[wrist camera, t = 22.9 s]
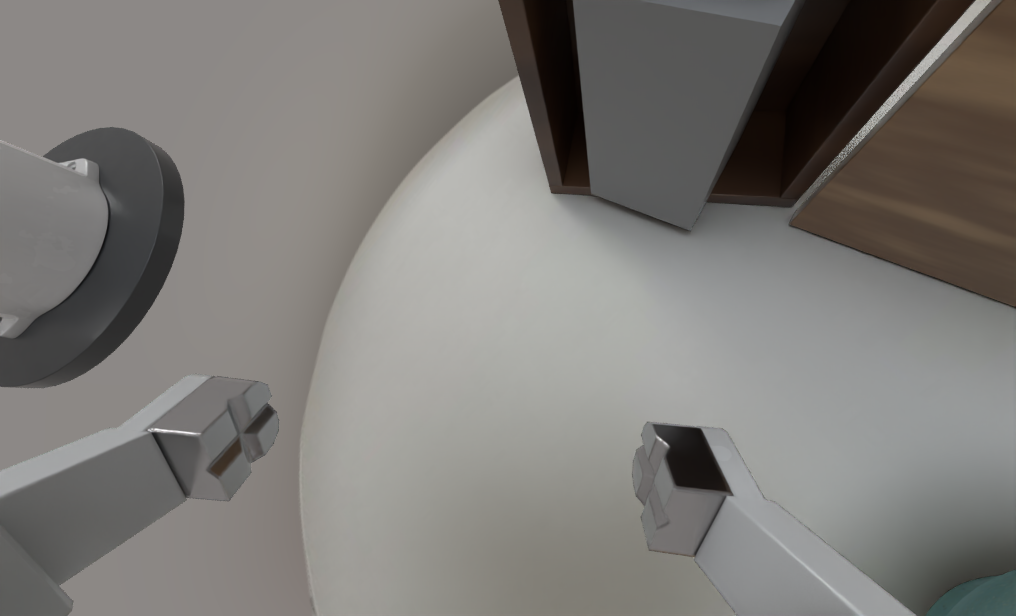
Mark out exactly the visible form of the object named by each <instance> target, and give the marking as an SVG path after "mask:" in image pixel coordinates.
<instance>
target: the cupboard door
mask: <svg viewBox="0 0 1016 616" xmlns="http://www.w3.org/2000/svg"><path fill="white" fill-rule="evenodd" d="M789 224H790V225H792V226H795V227H798V228H800V229H803V230H806V231H809V232H811V233H814V234H817V235H820V236H822V237H825V238H828V239H831V240H833V241H836V242H839V243H842V244H844V245H847V246H850V247H852V248H855V249H858V250H861V251H863V252H866V253H869V254H872V255H874V256H877V257H880V258H883V259H885V260H888V261H891V262H894V263H896V264H899V265H902V266H905V267H907V268H910V269H913V270H916V271H918V272H921V273H924V274H927V275H929V276H932V277H935V278H937V279H940V280H943V281H946V282H948V283H951V284H954V285H957V286H959V287H962V288H965V289H968V290H970V291H973V292H976V293H979V294H981V295H984V296H987V297H990V298H992V299H995V300H998V301H1001V302H1003V303H1006V304H1009V305H1011V306H1014V307H1016V0H992V1H991V2H990V3H989V4H988V5H987V6H986V7H985V8H984V9H983V10H982V11H981V13H980V14H979V15H978V16H977V17H976V18H975V19H974V20H973V21H972V22H971V23H970V24H969V25H968V26H967V28H966V29H965V30H964V31H963V32H962V33H961V34H960V35H959V36H958V37H957V38H956V39H955V40H954V42H953V43H952V44H951V45H950V46H949V47H948V48H947V49H946V50H945V51H944V52H943V53H942V54H941V56H940V57H939V58H938V59H937V60H936V61H935V62H934V63H933V64H932V65H931V66H930V67H929V68H928V70H927V71H926V72H925V73H924V74H923V75H922V76H921V77H920V78H919V79H918V80H917V81H916V82H915V84H914V85H913V86H912V87H911V88H910V89H909V90H908V91H907V92H906V93H905V94H904V95H903V96H902V97H901V99H900V100H899V101H898V102H897V103H896V104H895V105H894V106H893V107H892V108H891V109H890V110H889V111H888V113H887V114H886V115H885V116H884V117H883V118H882V119H881V120H880V121H879V122H878V123H877V124H876V125H875V127H874V128H873V129H872V130H871V131H870V132H869V133H868V134H867V135H866V136H865V137H864V138H863V139H862V141H861V142H860V143H859V144H858V145H857V146H856V147H855V148H854V149H853V150H852V151H851V152H850V153H849V154H848V156H847V157H846V158H845V159H844V160H843V161H842V162H841V163H840V164H839V165H838V166H837V167H836V168H835V170H834V171H833V172H832V173H831V174H830V175H829V176H828V177H827V178H826V179H825V180H824V181H823V182H822V184H821V185H820V186H819V187H818V188H817V189H816V190H815V191H814V192H813V193H812V194H811V195H810V196H809V198H808V199H807V200H806V201H805V202H804V203H803V204H802V205H801V206H800V207H799V208H798V209H797V210H796V212H795V214H794V215H793V217H792V219H791V221H790V223H789Z"/></svg>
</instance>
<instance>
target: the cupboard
mask: <svg viewBox="0 0 1016 616" xmlns="http://www.w3.org/2000/svg"><path fill="white" fill-rule="evenodd" d="M498 1H499V4H500V8H501V11H502V15H503V19H504V22H505V26H506V30H507V33H508V37H509V40H510V44H511V48H512V51H513V55H514V59H515V62H516V66H517V70H518V73H519V77H520V81H521V84H522V88H523V91H524V95H525V99H526V102H527V106H528V110H529V113H530V117H531V121H532V124H533V128H534V131H535V135H536V139H537V142H538V146H539V150H540V153H541V157H542V161H543V164H544V168H545V172H546V175H547V179H548V182H549V187H550V190H551V193H559V194H576V195H593V194H591V187H590V176H589V166H588V155H587V144H586V134H585V123H584V113H583V102H582V92H581V81H580V70H579V60H578V49H577V39H576V28H575V17H574V7H573V0H498ZM974 1H975V0H805V2H804V4H803V7H802V9H801V11H800V13H799V15H798V17H797V19H796V21H795V23H794V26H793V28H792V30H791V32H790V34H789V36H788V38H787V40H786V42H785V45H784V47H783V49H782V51H781V53H780V55H779V57H778V59H777V61H776V64H775V66H774V68H773V70H772V72H771V74H770V76H769V78H768V80H767V83H766V85H765V87H764V89H763V91H762V93H761V95H760V97H759V99H758V101H757V104H756V106H755V108H754V110H753V112H752V114H751V116H750V118H749V120H748V123H747V125H746V127H745V129H744V131H743V133H742V135H741V137H740V139H739V141H738V143H737V145H736V147H735V149H734V151H733V153H732V155H731V156H730V158H729V160H728V162H727V164H726V166H725V168H724V169H723V171H722V173H721V175H720V177H719V179H718V181H717V183H716V184H715V186H714V188H713V190H712V192H711V194H710V196H709V197H708V199H707V201H706V202H712V203H729V204H746V205H763V206H780V207H792V206H793V205H794V204H795V203H796V202H797V201H798V199H799V198H800V197H801V196H802V195H803V194H804V192H805V191H806V190H807V189H808V188H809V187H810V186H811V185H812V183H813V182H814V181H815V180H816V179H817V178H818V177H819V176H820V175H821V173H822V172H823V171H824V170H825V169H826V168H827V167H828V166H829V164H830V163H831V162H832V161H833V160H834V159H835V158H836V157H837V155H838V154H839V153H840V152H841V151H842V150H843V149H844V148H845V146H846V145H847V144H848V143H849V142H850V141H851V140H852V139H853V137H854V136H855V135H856V134H857V133H858V132H859V131H860V130H861V128H862V127H863V126H864V125H865V124H866V123H867V122H868V121H869V119H870V118H871V117H872V116H873V115H874V114H875V113H876V112H877V110H878V109H879V108H880V107H881V106H882V105H883V104H884V103H885V101H886V100H887V99H888V98H889V97H890V96H891V95H892V94H893V92H894V91H895V90H896V89H897V88H898V87H899V86H900V85H901V83H902V82H903V81H904V80H905V79H906V78H907V77H908V76H909V74H910V73H911V72H912V71H913V70H914V69H915V68H916V67H917V66H918V64H919V63H920V62H921V61H922V60H923V59H924V58H925V57H926V55H927V54H928V53H929V52H930V51H931V50H932V49H933V48H934V46H935V45H936V44H937V43H938V42H939V41H940V40H941V39H942V37H943V36H944V35H945V34H946V33H947V32H948V31H949V30H950V28H951V27H952V26H953V25H954V24H955V23H956V22H957V21H958V19H959V18H960V17H961V16H962V15H963V14H964V13H965V12H966V10H967V9H968V8H969V7H970V6H971V5H972V4H973V3H974ZM593 196H596V195H593Z"/></svg>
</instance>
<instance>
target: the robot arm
mask: <svg viewBox="0 0 1016 616" xmlns="http://www.w3.org/2000/svg"><path fill="white" fill-rule="evenodd" d="M107 224H108V204H107V200H106V197H105V195H104V193H103V191H102V189H101V187H100V184H99V166H98V164H97V163H95V162H92V161H90V160H87V159H84V158H82V159H76V160H72V161H67V162H62V163H56V162H54V161H51V160H49V159H47V158H44V157H42V156H39V155H37V154H34V153H32V152H30V151H27V150H25V149H22V148H20V147H17V146H15V145H12V144H10V143H8V142H5V141H3V140H0V337H5V338H11V339H14V338H16V337H18V336H19V335H20V334H22V333H23V332H24V331H25V330H26V329H27V328H28V327H29V325H30V324H31V323H32V322H33V321H34V320H35V319H36V318H38V317H39V316H41V315H42V314H44V313H46V312H47V311H49V310H51V309H53V308H54V307H56V306H57V305H59V304H60V303H61V302H62V301H64V300H65V299H66V298H67V297H68V296H69V295H70V294H71V293H72V292H73V291H74V290H75V289H76V288H77V287H78V286H79V284H80V283H81V282H82V280H83V279H84V278H85V276H86V275H87V274H88V272H89V270H90V269H91V267H92V265H93V264H94V262H95V260H96V258H97V256H98V254H99V252H100V249H101V247H102V244H103V241H104V238H105V234H106V230H107ZM271 397H272V395H271V392H270V390H269V387H268V384H265V383H263V382H259V381H251V380H244V379H236V378H228V377H221V376H217V377H215V376H208V375H201V374H192V375H189V376H186V377H184V378H182V379H181V380H180V381H179V382H177V383H176V384H175V385H173V386H172V387H171V388H169V389H168V390H167V391H165V392H164V393H163V394H162V395H160V396H159V397H158V398H156V399H155V400H154V401H152V402H151V403H150V404H148V405H147V406H146V407H144V408H143V409H142V410H141V411H139V412H138V413H137V414H135V415H134V416H133V417H131V418H130V419H129V420H127V421H126V422H125V423H123V424H122V425H121V426H120V427H118V428H108V429H105V430H102V431H100V432H97V433H95V434H92V435H90V436H87V437H85V438H82V439H80V440H77V441H75V442H72V443H69V444H67V445H65V446H62V447H59V448H57V449H54V450H52V451H49V452H47V453H44V454H42V455H39V456H36V457H34V458H32V459H29V460H26V461H24V462H21V463H19V464H16V465H14V466H11V467H9V468H6V469H4V470H1V471H0V616H67V615H68V614H69V613H70V612H71V611H72V608H73V600H72V599H71V598H70V597H69V596H68V595H67V594H66V593H65V592H64V591H63V590H62V589H61V588H60V587H59V585H61V584H62V583H64V582H65V581H67V580H68V579H70V578H71V577H73V576H74V575H76V574H77V573H79V572H80V571H82V570H83V569H84V568H86V567H88V566H89V565H91V564H92V563H94V562H95V561H97V560H98V559H100V558H101V557H103V556H104V555H106V554H107V553H109V552H110V551H112V550H113V549H115V548H116V547H117V546H119V545H121V544H122V543H124V542H125V541H127V540H128V539H130V538H131V537H133V536H134V535H136V534H137V533H139V532H140V531H142V530H143V529H144V528H146V527H147V526H149V525H150V524H152V523H153V522H155V521H156V520H158V519H160V518H161V517H163V516H164V515H165V514H167V513H168V512H170V511H171V510H173V509H174V508H176V507H177V506H179V505H180V504H182V503H183V502H185V501H186V500H187V499H186V498H196V499H207V500H219V501H230V499H231V498H232V497H233V495H234V494H235V493H236V492H237V490H238V489H239V488H240V487H241V485H242V484H243V483H244V481H245V480H246V479H247V478H248V476H249V475H250V474H251V463H252V462H254V461H256V460H257V459H259V458H261V457H263V456H265V455H266V453H267V452H268V451H269V449H270V448H271V447H272V445H273V444H274V441H275V439H276V436H277V434H278V431H279V419H278V415H277V412H276V411H275V410H274V409H273V408H272V407H271V406H270V405H269V404H268V401H269V400H270V398H271ZM641 437H642V440H643V444H644V445H643V446H641V447H640V448H638V449H637V450H636V452H635V456H634V460H633V471H632V477H633V486H634V490H635V495H636V497H637V498H638V499H639V500H640V501H641V503H642V504H643V505H644V509H643V512H642V515H641V520H642V524H643V528H644V533H645V537H646V541H647V545H648V549H649V551H655V552H662V553H669V554H676V555H683V556H690V557H695V558H694V561H695V562H696V563H697V564H698V566H699V567H700V568H701V570H702V571H703V572H704V573H705V575H706V576H707V577H708V579H709V580H710V581H711V582H712V584H713V585H714V586H715V588H716V589H717V590H718V591H719V593H720V594H721V595H722V597H723V598H724V599H725V600H726V602H727V603H728V604H729V606H730V607H731V608H732V609H733V611H734V612H735V613H736V615H737V616H917V615H916V614H914V613H913V612H912V611H911V610H909V609H908V608H907V607H906V606H904V605H903V604H902V603H901V602H899V601H898V600H897V599H896V598H894V597H893V596H892V595H891V594H889V593H888V592H887V591H886V590H884V589H883V588H882V587H881V586H880V585H878V584H877V583H876V582H875V581H873V580H872V579H871V578H870V577H868V576H867V575H866V574H865V573H863V572H862V571H861V570H860V569H858V568H857V567H856V566H855V565H853V564H852V563H851V562H850V561H848V560H847V559H846V558H845V557H843V556H842V555H841V554H840V553H838V552H837V551H836V550H835V549H833V548H832V547H831V546H830V545H828V544H827V543H826V542H825V541H823V540H822V539H821V538H820V537H818V536H817V535H816V534H815V533H813V532H812V531H811V530H810V529H808V528H807V527H806V526H805V525H803V524H802V523H801V522H800V521H798V520H797V519H796V518H795V517H793V516H792V515H791V514H790V513H788V512H787V511H786V510H785V509H783V508H782V507H781V506H780V505H778V504H777V503H776V502H775V501H769V500H766V499H765V498H764V496H763V494H762V492H761V490H760V489H759V487H758V485H757V483H756V482H755V480H754V478H753V476H752V475H751V473H750V471H749V469H748V468H747V466H746V464H745V462H744V460H743V459H742V457H741V455H740V453H739V452H738V450H737V448H736V446H735V445H734V443H733V441H732V439H731V438H730V436H729V434H728V433H727V432H726V431H725V430H724V429H723V428H713V427H702V426H696V427H695V426H689V425H678V424H668V423H657V422H647V423H646V424H645V425H644V427H643V430H642V433H641Z"/></svg>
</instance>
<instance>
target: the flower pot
mask: <svg viewBox="0 0 1016 616" xmlns="http://www.w3.org/2000/svg"><path fill="white" fill-rule="evenodd" d="M926 616H1016V570H1013V571H1010V572H1008V573H1005V574H1003V575H1000V576H989V577H984V578H978V579H975V580H971V581H968V582H965V583H963V584H960V585H958V586H956V587H955V588H953V589H951V590H950V591H948V592H947V593H945V594H944V595H943V596H942V597H940V598H939V599H938V600H937V602H936V603H935V604H934V605H933V606H932V607H931V608H930V610H929V611H928V613H927V614H926Z"/></svg>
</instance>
